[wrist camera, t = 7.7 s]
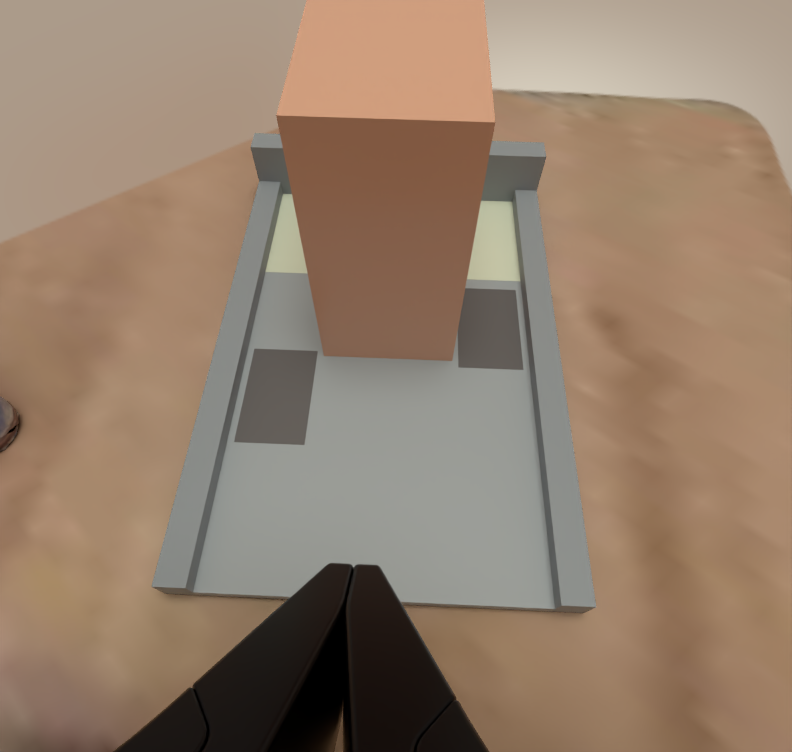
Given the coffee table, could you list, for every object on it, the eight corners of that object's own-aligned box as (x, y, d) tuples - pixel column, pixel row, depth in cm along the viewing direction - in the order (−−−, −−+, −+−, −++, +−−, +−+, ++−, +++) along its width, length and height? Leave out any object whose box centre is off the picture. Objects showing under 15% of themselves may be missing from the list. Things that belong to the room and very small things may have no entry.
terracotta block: (452, 361, 21) (495, 122, 12) (323, 356, 21) (276, 115, 12) (449, 217, 25) (480, -37, 16) (342, 213, 25) (317, -41, 16)
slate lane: (583, 612, 16) (619, 597, 14) (166, 593, 17) (125, 574, 14) (528, 196, 26) (543, 142, 24) (267, 187, 26) (254, 133, 24)
